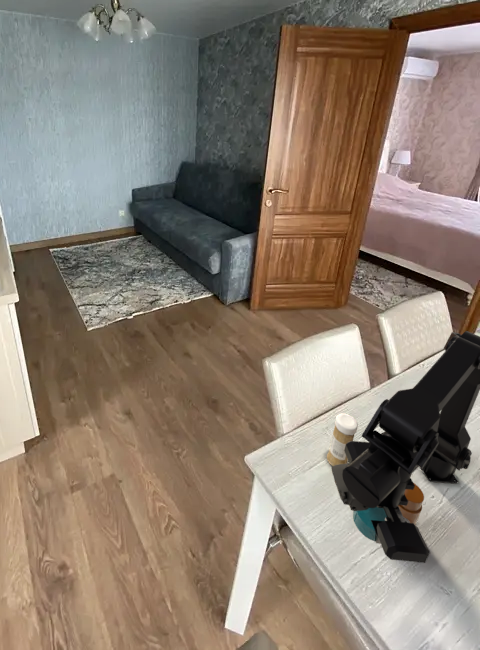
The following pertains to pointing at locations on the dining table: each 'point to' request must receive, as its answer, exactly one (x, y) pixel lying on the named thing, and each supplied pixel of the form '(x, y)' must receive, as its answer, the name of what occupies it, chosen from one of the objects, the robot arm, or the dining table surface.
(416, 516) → the jar
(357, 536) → the dining table surface
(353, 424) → the sprinkles bottle
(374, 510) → the lid
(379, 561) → the dining table surface
